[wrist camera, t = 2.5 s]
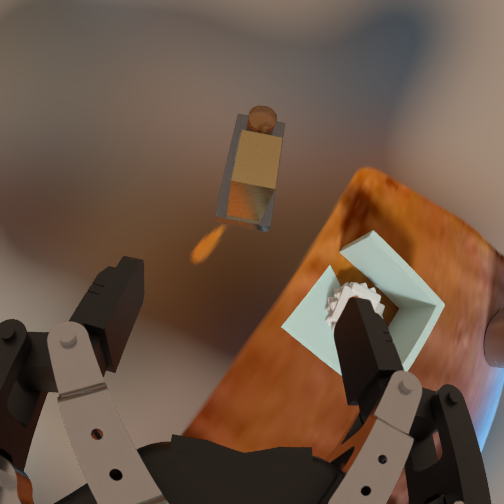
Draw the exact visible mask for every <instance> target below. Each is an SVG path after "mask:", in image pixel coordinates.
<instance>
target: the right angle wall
mask: <svg viewBox="0 0 504 504" xmlns="http://www.w3.org/2000/svg"><path fill="white" fill-rule="evenodd" d="M340 253H341V254H342V255H343V256H344V257H345V258H346V259H347V260H348V261H350V262H351V263H352V264H353V265H354V266H355V267H356V268H357V269H358V270H359V271H360V272H362V273H363V274H364V275H365V276H366V277H367V278H368V279H369V280H370V281H371V282H372V283H373V284H374V285H375V286H376V287H377V288H378V289H380V290H381V291H382V292H383V293H384V294H385V295H386V296H387V297H388V298H389V299H390V300H391V301H392V302H393V303H394V304H395V305H396V306H397V307H398V308H399V310H398V312H397V313H396V315H395V316H394V318H393V320H392V321H391V323H390V324H389V326H388V329H389V332H390V335H391V337H392V339H393V343H394V344H395V347H396V349H397V352H398V355H399V357H400V360H401V363H402V366H403V368H404V371H408V370H409V368H410V367H411V365H412V363H413V362H414V360H415V359H416V357H417V355H418V354H419V352H420V350H421V349H422V347H423V345H424V343H425V342H426V340H427V338H428V336H429V335H430V333H431V331H432V329H433V327H434V325H435V324H436V322H437V320H438V318H439V316H440V314H441V312H442V310H443V308H444V306H445V304H444V303H443V302H442V301H441V299H440V298H439V297H438V296H437V295H436V294H435V293H434V292H433V291H432V289H431V288H430V287H429V286H428V285H427V284H426V283H425V282H424V281H423V280H422V279H421V278H420V276H419V275H418V274H417V273H416V272H415V271H414V270H413V269H412V268H411V267H410V266H409V265H408V264H407V263H406V262H405V261H404V260H403V259H402V258H401V257H400V256H399V255H398V254H397V253H396V252H395V251H394V250H393V249H392V248H391V247H390V246H389V245H388V244H387V243H386V242H385V241H384V240H383V239H382V238H381V237H380V236H379V235H378V234H377V233H376V232H375V231H374V230H372V231H371V232H369V233H367V234H365V235H363V236H362V237H360V238H358V239H356V240H355V241H353V242H351V243H349V244H347V245H346V246H344V247H343V248H342V249H341V250H340ZM355 295H357V296H358V297H359V298H363V299H369V300H370V301H371V304H372V306H373V308H374V311H375V313H378V314H379V315H380V316H381V317H382V319H383V315H382V314H383V311H384V308H385V306H384V305H383V304H381V303H379V302H380V299H381V295H379V294H377V293H376V290H375V288H370V289H368V287H367V284H366V283H361V284H358V283H357V282H350V284H349V283H348V282H347V283H346V284H344V285H343V286H340V284H339V282H338V279H337V278H336V276H335V273H334V271H333V269H332V268H331V266H330V265H329V267H328V268H327V269H326V271H325V272H324V273H323V275H322V276H321V277H320V279H319V280H318V281H317V282H316V284H315V285H314V286H313V288H312V289H311V290H310V291H309V293H308V294H307V295H306V297H305V298H304V299H303V300H302V302H301V303H300V304H299V305H298V307H297V308H296V309H295V310H294V312H293V313H292V314H291V315H290V317H289V318H288V319H287V320H286V322H285V323H284V324H283V325H282V326H281V327H282V328H283V329H284V330H286V331H287V332H288V333H289V334H290V335H292V336H293V337H294V338H295V339H296V340H298V341H299V342H300V343H301V344H303V345H304V346H305V347H306V348H307V349H309V350H310V351H311V352H312V353H314V354H315V355H316V356H317V357H319V358H320V359H321V360H322V361H324V362H325V363H326V364H327V365H329V366H330V367H331V368H332V369H334V370H335V371H336V372H337V373H339V374H340V375H341V376H342V373H341V369H340V364H339V359H338V355H337V350H336V346H335V341H334V328H335V325H336V322H337V321H338V319H339V317H340V315H341V313H342V311H343V309H344V307H345V305H346V304H347V302H348V301H347V300H348V298H350V297H352V296H355Z"/></svg>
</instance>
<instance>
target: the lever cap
mask: <svg viewBox="0 0 504 504" xmlns="http://www.w3.org/2000/svg"><path fill="white" fill-rule="evenodd" d="M281 145H282V138H281V137H276V136H272V135H267V134H262V133H257V132H252V131H246V130H242V132H241V137H240V141H239V146H238V151H237V155H236V160H235V164H234V169H233V174H232V179H231V185H230V194H229V202H228V211H227V217H230V218H236V219H241V220H247V221H252V222H257V223H259V222H260V220H261V218H262V216H263V214H264V212H265V210H266V208H267V205H268V203H269V201H270V199H271V197H272V195H273V193H274V191H275V188H276V181H277V174H278V167H279V159H280V152H281Z"/></svg>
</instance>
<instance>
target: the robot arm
mask: <svg viewBox="0 0 504 504" xmlns="http://www.w3.org/2000/svg"><path fill="white" fill-rule="evenodd" d="M143 300H144V261H143V260H142V259H137V258H132V257H128V256H123V257H122V259H121V260H120V262H119V264H118V265H117V267H116V268H114V267H110V266H109V267H107V268H106V269H104V270H103V271H102V272H100V273H99V274H98V275H97V277H96V278H95V280H94V281H93V284H92V285H91V286H90V288H89V289H88V292H86V294H85V295H84V297H83V299H82V300H81V302H80V304H79V305H78V307H77V308H76V310H75V312H74V313H73V315H72V317H71V318H70V320H69V321H68V322H63V323H60V324H58V325H56V326H55V327H53V328H52V330H51V331H50V332H27V330H26V328H25V326H24V324H23V323H22V322H20V321H18V320H15V319H10V320H5V321H3V322H1V323H0V504H34V502H33V497H32V484H31V481H30V479H29V477H28V476H27V474H26V473H25V472H24V468H25V464H26V460H27V456H28V452H29V449H30V445H31V442H32V438H33V435H34V432H35V429H36V425H37V422H38V419H39V416H40V413H41V410H42V407H43V404H44V402H45V399H46V396H47V393H48V392H58V393H59V397H58V405H59V409H60V412H61V415H62V419H63V422H64V425H65V428H66V431H67V434H68V436H69V439H70V442H71V445H72V447H73V450H74V453H75V455H76V457H77V460H78V463H79V465H80V467H81V469H82V472H83V474H84V476H85V479H86V481H87V484H85V485H84V486H82V487H80V488H79V489H77V490H76V491H74V492H72V493H71V494H69V495H68V496H66V497H64V498H63V499H61V500H59V501H57V502H56V503H54V504H386V503H387V501H388V499H389V497H390V495H391V493H392V491H393V489H394V487H395V485H396V483H397V480H398V478H399V476H400V474H401V472H402V469H403V467H404V466H405V473H406V480H407V488H408V496H409V504H491V500H490V493H489V488H488V483H487V478H486V473H485V469H484V464H483V460H482V456H481V452H480V448H479V445H478V441H477V437H476V434H475V431H474V427H473V424H472V421H471V418H470V415H469V412H468V409H467V406H466V403H465V400H464V397H463V395H462V393H461V392H460V391H459V390H458V389H457V388H456V387H455V386H453V385H450V384H446V385H443V386H442V387H441V388H440V389H439V390H438V391H437V392H436V391H432V390H429V389H425V388H422V386H421V384H420V382H419V380H418V379H417V378H416V377H415V376H414V375H413V374H411V373H410V372H407V371H404V368H403V366H402V363H401V360H400V357H399V355H398V352H397V349H396V347H395V344H394V343H393V339H392V337H391V335H390V332H389V329H388V327H387V324H386V322H385V321H384V320H383V319H382V317H381V316H380V315H379V314H378V313H375V311H374V308H373V306H372V304H371V301H370V300H369V299H363V298H356V297H351V298H350V299H349V300H348V302H347V304H346V305H345V307H344V309H343V311H342V313H341V315H340V317H339V319H338V321H337V322H336V325H335V328H334V341H335V346H336V350H337V355H338V359H339V364H340V369H341V373H342V378H343V383H344V388H345V393H346V398H347V403H348V405H359V409H360V410H359V411H358V412H357V413H356V415H355V417H354V418H353V420H352V422H351V423H350V425H349V427H348V428H347V430H346V432H345V433H344V435H343V437H342V438H341V440H340V441H339V443H338V444H337V446H336V447H335V449H334V450H333V451H332V452H331V453H330V454H329V455H328V456H327V458H326V459H325V460H324V459H322V458H319V457H316V456H312V447H277V448H272V449H266V450H260V451H254V452H248V453H243V452H239V451H236V450H233V449H230V448H227V447H224V446H221V445H219V444H216V443H213V442H211V441H208V440H202V439H196V438H190V437H184V436H179V435H172V439H171V442H160V443H154V444H150V445H146V446H144V447H141V448H139V449H137V450H136V448H135V446H134V444H133V442H132V440H131V439H130V436H129V435H128V432H127V430H126V428H125V426H124V424H123V422H122V420H121V418H120V416H119V413H118V411H117V409H116V407H115V404H114V402H113V400H112V398H111V395H110V393H109V390H108V388H107V386H106V384H105V382H104V379H103V377H104V375H105V372H106V370H107V371H110V372H113V373H115V372H116V369H117V367H118V364H119V362H120V359H121V356H122V354H123V351H124V349H125V346H126V343H127V341H128V338H129V336H130V333H131V331H132V328H133V326H134V323H135V321H136V319H137V316H138V314H139V312H140V309H141V307H142V304H143ZM484 352H485V357H486V360H487V362H488V364H489V365H490V366H493V367H499V368H504V308H500V309H499V312H498V314H496V315H495V316H494V317H493V318H492V319H491V321H490V323H489V325H488V328H487V331H486V335H485V342H484ZM437 431H438V433H439V437H440V441H441V445H442V450H443V454H442V457H441V459H440V460H439V461H438V459H437V454H436V449H435V445H434V441H433V436H432V435H433V434H434V433H436V432H437Z"/></svg>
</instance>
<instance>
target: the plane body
mask: <svg viewBox="0 0 504 504" xmlns="http://www.w3.org/2000/svg"><path fill="white" fill-rule="evenodd" d="M276 120H277V115H276V113H275V112H274V111H273V110H272V109H271V108H269V107H267V106H256V107H254V108H252V109H251V110H250V112H249V116H247V115H241V114H238V116H237V120H236V124H235V129H234V133H233V138H232V141H231V145H230V149H229V154H228V158H227V163H226V167H225V171H224V176H223V181H222V185H221V190H220V194H219V199H218V204H217V208H216V213H215V222H217V223H222V224H228V225H233V226H239V227H244V228H250V229H255V230H260V231H266V232H267V231H268V230H269V228H270V226H271V220H272V213H273V206H274V199H275V192H276V188H275V191H274V193H273V195H272V197H271V199H270V201H269V203H268V205H267V208H266V210H265V212H264V214H263V216H262V218H261V220H260V222H259V223H257V222H252V221H247V220H241V219H236V218H230V217H227V211H228V202H229V194H230V185H231V179H232V174H233V169H234V164H235V160H236V155H237V151H238V146H239V141H240V137H241V132H242V130H246V131H252V132H257V133H262V134H267V135H272V136H276V137H281V138H282V142H283V134H284V127H285V123H281V122H277V121H276ZM281 149H282V145H281ZM280 156H281V152H280ZM279 163H280V159H279ZM278 171H279V167H278ZM277 178H278V174H277ZM276 184H277V181H276Z"/></svg>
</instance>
